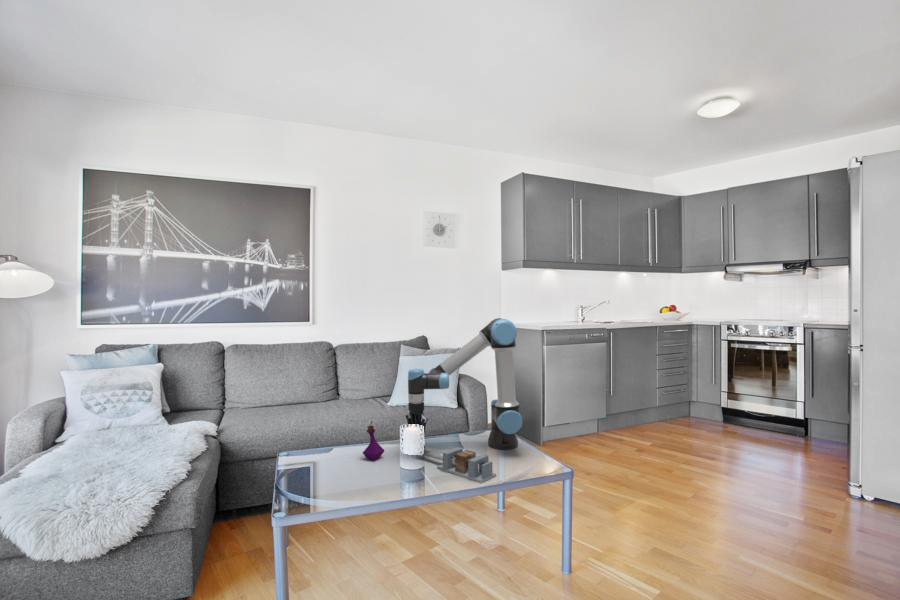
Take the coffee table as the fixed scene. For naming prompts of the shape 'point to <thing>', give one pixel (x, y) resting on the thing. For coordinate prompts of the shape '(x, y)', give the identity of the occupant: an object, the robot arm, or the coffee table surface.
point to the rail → (472, 471)
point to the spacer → (463, 460)
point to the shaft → (436, 455)
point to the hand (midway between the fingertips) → (416, 451)
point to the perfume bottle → (373, 445)
